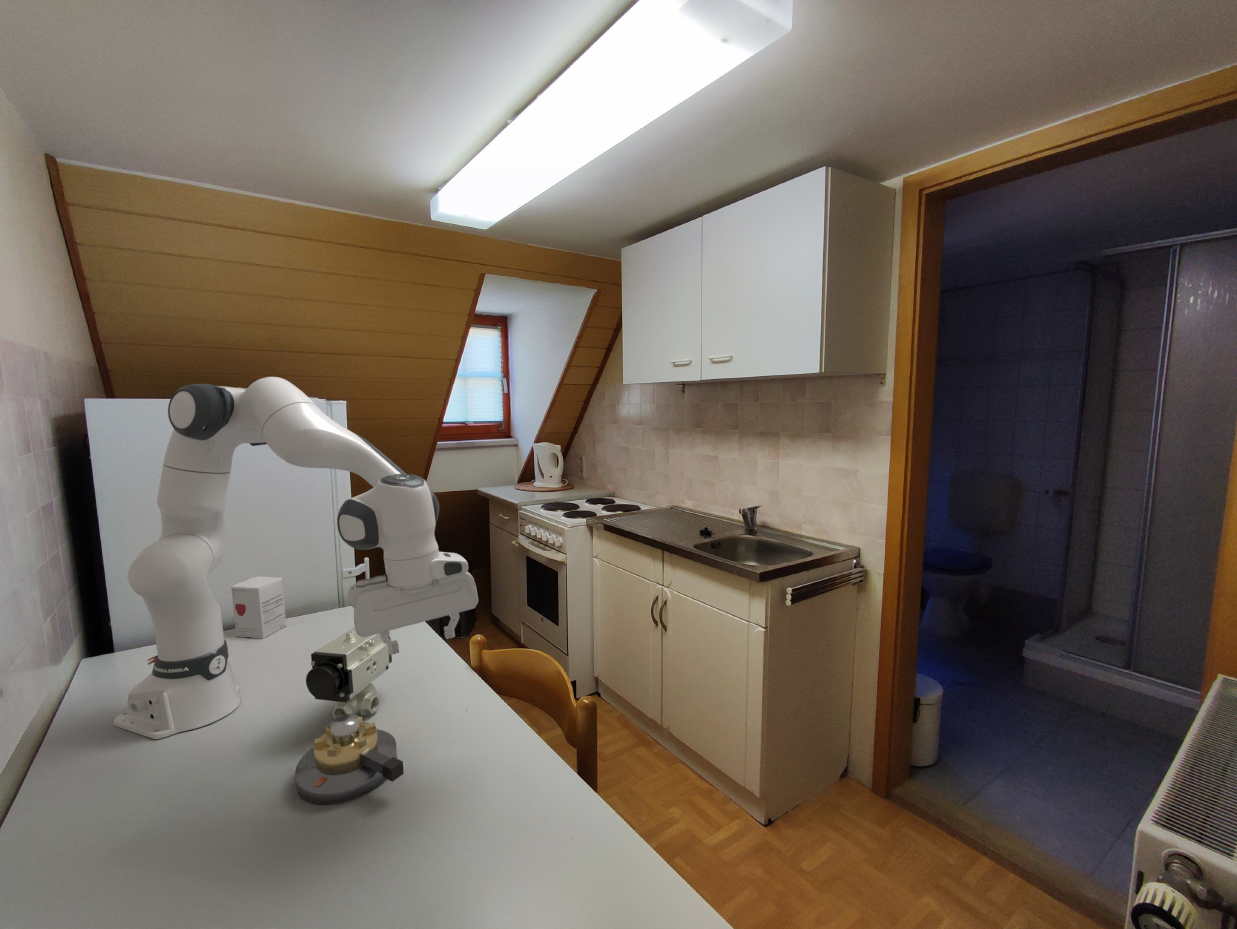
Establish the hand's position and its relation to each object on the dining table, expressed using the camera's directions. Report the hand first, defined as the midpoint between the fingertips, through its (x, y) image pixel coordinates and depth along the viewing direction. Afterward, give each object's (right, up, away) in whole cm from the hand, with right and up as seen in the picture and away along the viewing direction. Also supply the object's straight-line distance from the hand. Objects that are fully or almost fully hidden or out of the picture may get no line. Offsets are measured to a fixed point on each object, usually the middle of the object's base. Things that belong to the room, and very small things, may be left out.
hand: (422, 644), depth 96 cm
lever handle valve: (-10, -20, -1) cm, 22 cm away
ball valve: (-21, -21, +20) cm, 35 cm away
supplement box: (-68, -17, +61) cm, 93 cm away
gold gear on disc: (-14, -23, +1) cm, 27 cm away
